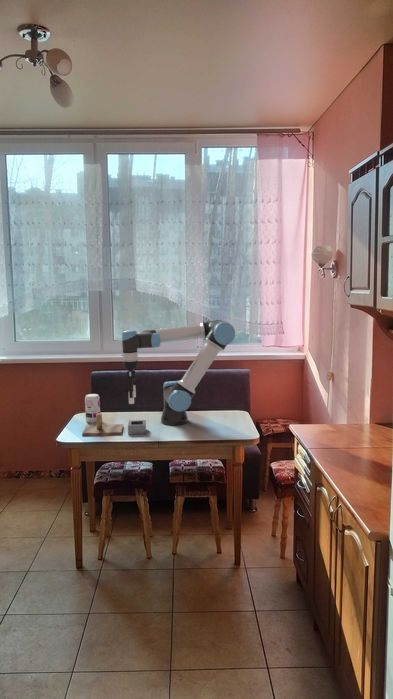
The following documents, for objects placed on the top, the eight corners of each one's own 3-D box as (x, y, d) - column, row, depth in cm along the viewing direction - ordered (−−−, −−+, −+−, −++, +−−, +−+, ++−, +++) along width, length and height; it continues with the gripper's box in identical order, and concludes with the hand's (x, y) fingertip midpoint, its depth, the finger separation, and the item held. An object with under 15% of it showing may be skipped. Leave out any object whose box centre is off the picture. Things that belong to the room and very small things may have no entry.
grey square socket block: (146, 429, 268) (145, 420, 268) (145, 434, 259) (145, 425, 259) (129, 429, 268) (128, 420, 267) (128, 435, 259) (127, 425, 258)
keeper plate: (123, 426, 273) (122, 409, 271) (121, 434, 259) (120, 417, 258) (86, 427, 272) (85, 410, 270) (82, 436, 258) (81, 418, 256)
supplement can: (100, 418, 289) (99, 393, 287) (100, 422, 281) (99, 396, 279) (86, 419, 288) (85, 393, 286) (85, 423, 280) (84, 397, 278)
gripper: (125, 356, 270) (127, 394, 273) (121, 364, 246) (123, 406, 249) (139, 356, 271) (141, 394, 274) (136, 364, 246) (138, 406, 249)
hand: (132, 400), depth 261 cm, fingers open, 13 cm apart
